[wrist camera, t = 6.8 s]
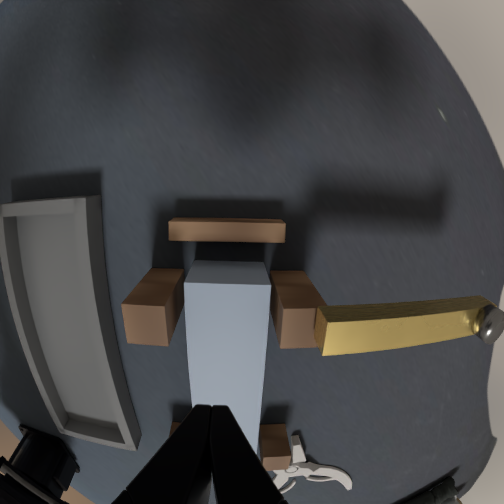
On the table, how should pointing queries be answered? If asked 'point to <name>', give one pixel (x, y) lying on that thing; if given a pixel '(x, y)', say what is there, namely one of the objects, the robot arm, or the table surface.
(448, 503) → the ceramic mug
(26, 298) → the tray
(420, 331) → the bar
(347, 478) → the pliers
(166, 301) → the brown wooden stand
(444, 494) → the flashlight
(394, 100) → the table surface
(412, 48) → the table surface
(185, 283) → the peg
